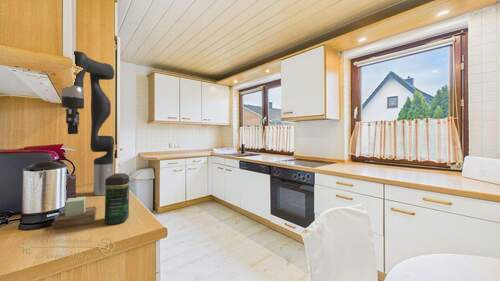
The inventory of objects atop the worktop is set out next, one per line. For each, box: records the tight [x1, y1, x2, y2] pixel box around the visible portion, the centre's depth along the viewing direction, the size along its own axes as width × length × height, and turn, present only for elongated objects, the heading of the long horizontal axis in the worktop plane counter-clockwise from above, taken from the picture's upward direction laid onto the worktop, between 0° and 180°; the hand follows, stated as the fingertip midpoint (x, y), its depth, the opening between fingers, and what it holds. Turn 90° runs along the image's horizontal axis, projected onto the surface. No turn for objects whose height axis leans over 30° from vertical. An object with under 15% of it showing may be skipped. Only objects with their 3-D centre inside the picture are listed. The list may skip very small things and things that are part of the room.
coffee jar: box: [104, 172, 130, 225], centre depth 83 cm, size 10×8×19 cm
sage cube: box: [65, 196, 87, 217], centre depth 82 cm, size 6×6×6 cm
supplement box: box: [66, 173, 77, 201], centre depth 93 cm, size 9×5×16 cm, turn 84°
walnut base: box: [51, 206, 98, 230], centre depth 82 cm, size 12×12×3 cm
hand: (73, 134), depth 91 cm, fingers open, 8 cm apart
